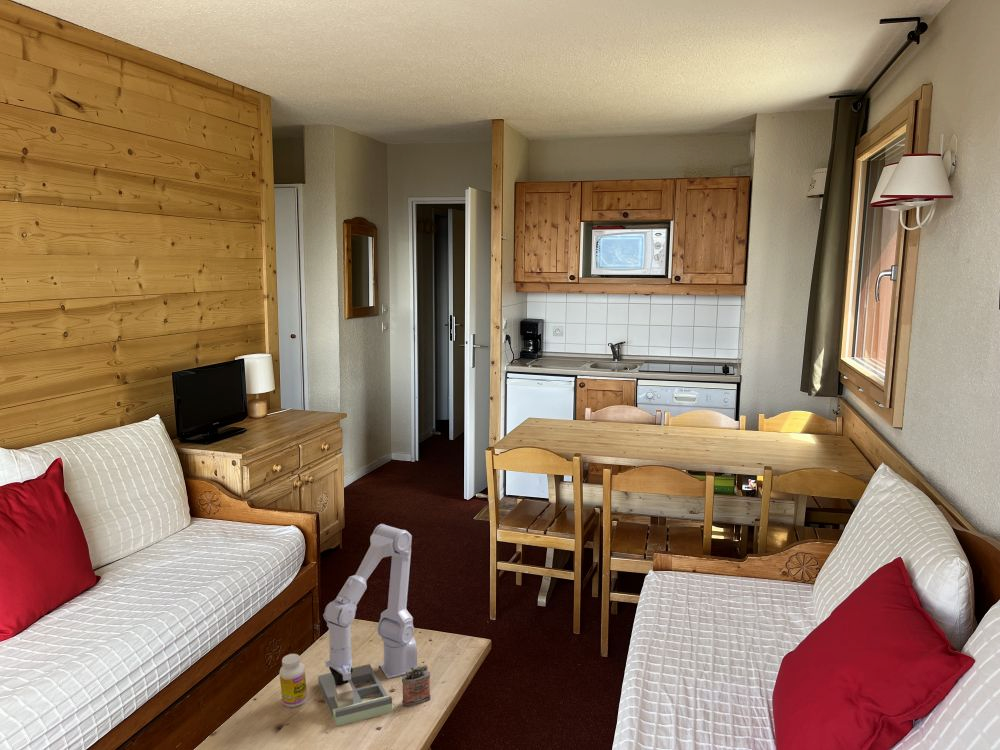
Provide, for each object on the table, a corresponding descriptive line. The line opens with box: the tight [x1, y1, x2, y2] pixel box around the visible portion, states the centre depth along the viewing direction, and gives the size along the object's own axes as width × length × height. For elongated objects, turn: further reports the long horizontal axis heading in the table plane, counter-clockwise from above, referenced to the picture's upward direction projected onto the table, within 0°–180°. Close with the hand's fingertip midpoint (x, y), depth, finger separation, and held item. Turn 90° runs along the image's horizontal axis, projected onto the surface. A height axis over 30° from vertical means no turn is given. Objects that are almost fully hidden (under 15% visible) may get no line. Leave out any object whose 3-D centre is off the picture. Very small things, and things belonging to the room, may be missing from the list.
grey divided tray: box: [317, 663, 393, 727], centre depth 209 cm, size 15×22×4 cm
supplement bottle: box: [279, 653, 308, 708], centre depth 206 cm, size 7×7×13 cm
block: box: [334, 683, 353, 708], centre depth 202 cm, size 4×4×4 cm
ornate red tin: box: [401, 664, 432, 708], centre depth 206 cm, size 8×3×10 cm, turn 117°
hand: (341, 691), depth 205 cm, fingers closed
